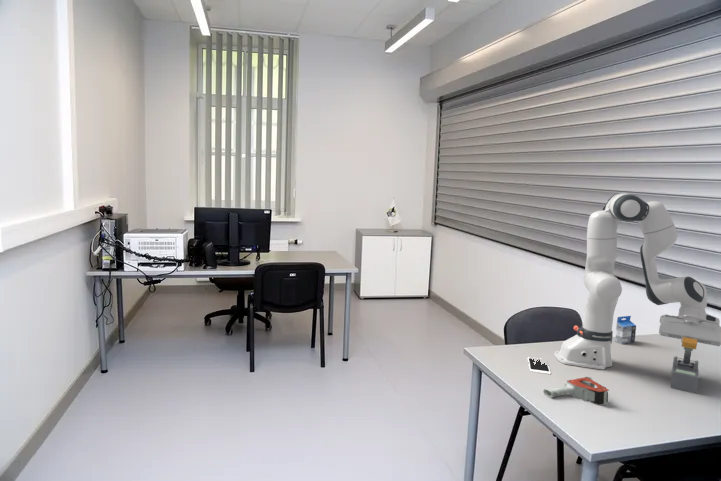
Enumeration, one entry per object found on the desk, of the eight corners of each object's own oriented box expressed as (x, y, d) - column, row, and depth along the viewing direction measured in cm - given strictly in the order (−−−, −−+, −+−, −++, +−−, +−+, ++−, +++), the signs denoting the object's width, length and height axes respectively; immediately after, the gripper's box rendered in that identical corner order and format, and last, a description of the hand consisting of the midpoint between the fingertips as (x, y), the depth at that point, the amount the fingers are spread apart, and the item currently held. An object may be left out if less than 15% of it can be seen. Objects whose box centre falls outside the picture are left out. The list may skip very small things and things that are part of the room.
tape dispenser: (541, 400, 165) (605, 415, 154) (541, 386, 164) (606, 399, 153) (552, 381, 179) (612, 393, 168) (553, 368, 179) (612, 379, 168)
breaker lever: (678, 361, 184) (681, 336, 176) (693, 364, 181) (698, 339, 174) (677, 366, 182) (681, 341, 175) (693, 369, 179) (697, 344, 172)
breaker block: (671, 370, 192) (674, 349, 191) (695, 376, 188) (698, 354, 187) (670, 387, 176) (673, 364, 175) (696, 393, 172) (699, 370, 170)
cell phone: (529, 372, 186) (529, 370, 186) (527, 358, 202) (527, 356, 201) (550, 375, 184) (550, 373, 184) (546, 360, 199) (546, 359, 199)
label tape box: (621, 344, 223) (624, 319, 222) (614, 341, 227) (617, 316, 225) (634, 342, 226) (637, 317, 225) (627, 339, 230) (630, 315, 228)
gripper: (660, 309, 189) (656, 339, 183) (724, 319, 178) (722, 351, 171) (660, 317, 194) (655, 347, 187) (722, 328, 182) (720, 359, 175)
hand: (688, 349), depth 179 cm, fingers closed
